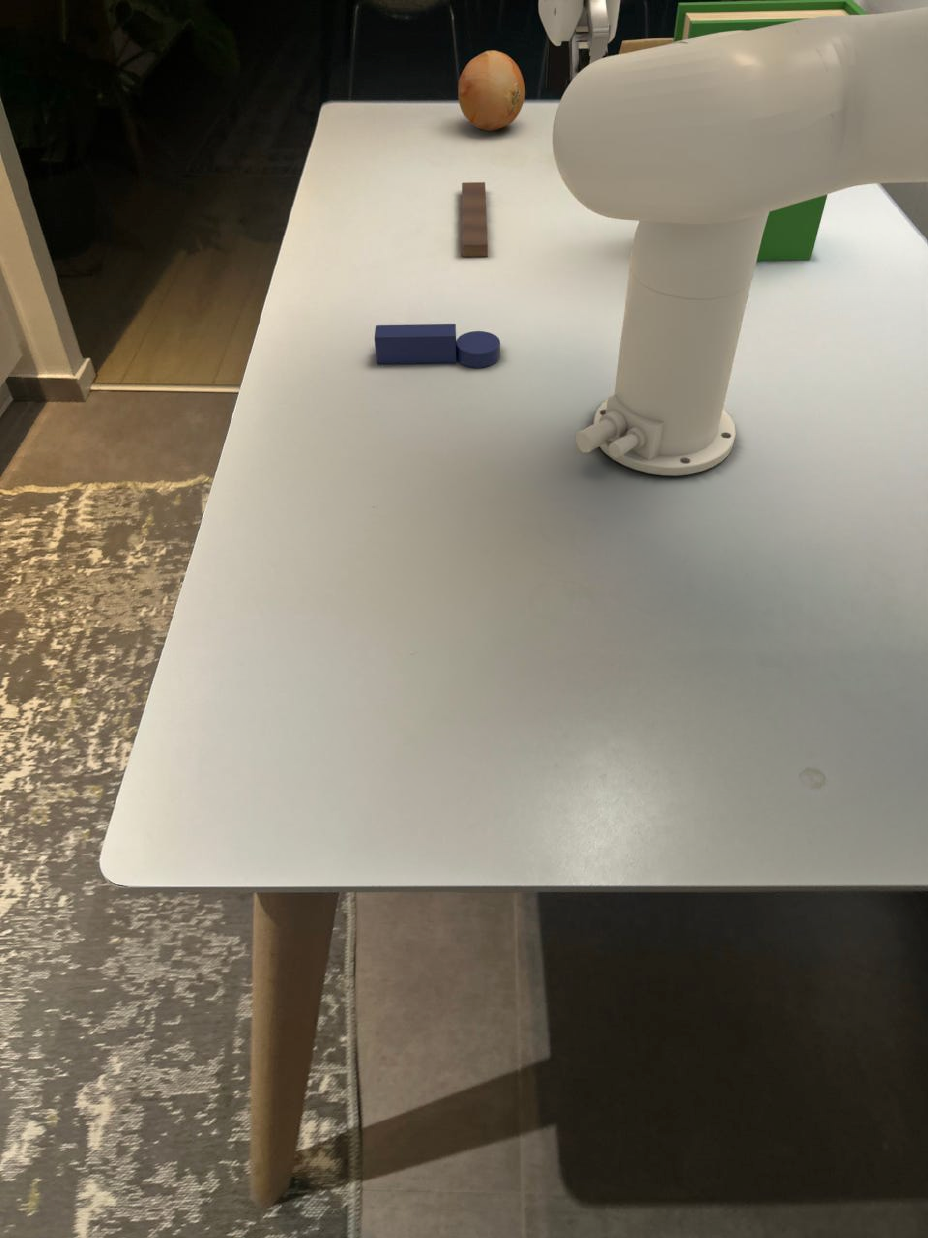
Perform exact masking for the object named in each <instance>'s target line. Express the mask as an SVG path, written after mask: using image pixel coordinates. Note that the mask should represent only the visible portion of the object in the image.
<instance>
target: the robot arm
mask: <svg viewBox="0 0 928 1238" xmlns="http://www.w3.org/2000/svg"><path fill="white" fill-rule="evenodd" d="M620 4H621V0H538V3H537V5H538V14H539V18H540V21H541V23H542V25H543V28H544V31H545V32H546V35H547V36H548V37H547V38H548V39H547V41H548V43H547V58H546V74H545V75H546V77H545V87H546V90H547V91H548V92H552V93H553V92H563V95H562V96H561V98H560V101H559V103H558V105H557V109H556V112H555V116H554V121H553V126H552V151H553V156H554V160H555V165H556V168H557V170H558V173H559V175H560V177H561V180H562V181H563V183H564V185H565V186H566V188H567V189H568V191H569V192H570V193H571V195H572V196H573V197H574V198H575V199H576V200H577V201H578V203H580V204H581V205H582V206H584V207H585V208H586V209H587V210H589V211H590V212H593V213H595V214H597V215H600V216H603V217H606V218H610V219H615V220H622V221H623V220H624V221H637V222H638V224H637V227H636V230H635V234H634V237H633V241H632V245H631V246H632V247H631V254H630V261H629V267H628V275H627V284H626V293H625V301H624V309H623V316H622V317H623V318H622V326H621V334H620V342H619V352H618V361H617V366H616V367H617V368H616V376H615V384H614V393H613V395H612V396H611V395H610V396H609V397H608V398H607V399H605V400H604V401H603V402H602V403H600V405H599V407H598V408H597V409H596V412H595V414H594V417H593V424H591V425H589V426H587V427H585V428H584V429H583V428H582V430H580V431H578V432H577V433H576V434H575V438H574V441H575V443H576V446H577V448H578V450H580V451H581V452H582V453H583V454H584V453H585V454H589V453H590V452H592V451H594V450H595V449H597V448H600V449H601V450H602V452H603V453H604V454H606V455H607V456H608V457H609V458H611V460H613V461H616V462H617V463H619V464H621V465H623V466H624V467H627V468H629V469H632V470H634V471H639V472H642V473H645V474H650V475H657V476H671V477H672V476H673V477H674V476H676V477H677V476H685V475H692V474H697V473H702V472H704V471H706V470H709V469H712V468H714V467H715V466H717V465H718V464H720V463H722V462H723V461H724V460H725V459H726V458H727V457H728V456H729V455H730V453H731V451H732V450H733V448H734V443H735V440H736V425H735V423H734V420H733V418H732V417H731V415H730V414H729V412H728V411H727V410H726V409H725V408H724V405H725V401H726V396H727V393H728V387H729V384H730V379H731V374H732V370H733V365H734V361H735V356H736V352H737V348H738V343H739V339H740V335H741V330H742V326H743V321H744V316H745V311H746V308H747V304H748V298H749V294H750V290H751V285H752V280H753V278H754V273H755V269H756V264H757V261H756V260H757V256H758V252H759V248H760V244H761V239H762V235H763V232H764V228H765V225H766V221H767V218H768V215H769V212H770V211H773V210H777V209H780V208H783V207H787V206H790V205H793V204H797V203H800V202H804V201H807V200H810V199H814V198H817V197H820V196H824V195H827V194H828V195H830V194H833V193H836V192H839V191H843V190H845V189H848V188H853V187H857V186H863V185H873V184H874V185H876V184H892V183H893V184H894V183H895V184H897V183H927V182H928V6H924V7H917V8H913V9H911V8H910V9H905V10H899V11H890V12H882V13H870V14H869V13H868V14H869V15H836V16H823V17H816V18H810V19H804V20H799V21H793V22H788V23H784V24H779V25H774V26H769V27H765V28H760V29H755V30H750V31H741V30H738V31H728V32H720V33H715V34H710V35H705V36H700V37H695V38H690V39H686V40H681V41H676V42H672V43H670V44H667V45H663V46H658V47H653V48H648V49H644V50H639V51H634V52H629V53H624V54H619V53H618V54H614V55H609V52H608V51H609V50H608V44H609V43H611V42H612V41H613V39H615V37H616V32H617V28H618V20H619V14H620ZM828 195H827V196H828Z"/></svg>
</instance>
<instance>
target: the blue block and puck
mask: <svg viewBox="0 0 928 1238" xmlns="http://www.w3.org/2000/svg"><path fill="white" fill-rule="evenodd" d="M374 346H375V347H374V348H375V355H376V357H375V359H376V364H377V365H383V364H384V365H387V364H388V365H389V364H392V365H393V364H394V365H395V364H397V365H398V364H448V363H449V364H450V363H451V364H452V363H453V364H454V363H457V361H458V363H460V364H461V365H463V366H465V367H468V368H475V369H478V368H487V367H491V366H493V365H494V364H496V363H497V362H498V361H499V360H500V357H501V341H500V338H499V337H498V336H497V335H496V334H494V333H492V332H490V331H485V330H474V331H468V332H465V333H463V334H461V335H460V336H458V337H457V324H456V323H425V324H424V323H423V324H422V323H421V324H419V323H418V324H413V323H412V324H376V325H375V331H374Z"/></svg>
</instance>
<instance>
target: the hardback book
mask: <svg viewBox="0 0 928 1238" xmlns="http://www.w3.org/2000/svg"><path fill="white" fill-rule="evenodd" d="M676 10H677V11H676V17H675V26H674V33H673V38H674V40H673V42H676V41H681V40H686V39H690V38H695V37H700V36H705V35H710V34H715V33H720V32H728V31H738V30H741V31H750V30H755V29H760V28H765V27H769V26H774V25H779V24H784V23H788V22H793V21H799V20H804V19H810V18H816V17H823V16H836V15H869V12H867V11H866V10H864V9H863V8H862V7H861V6H860V5H859V4H858V3H856V2H855V0H744V1H742V0H741V1H739V0H738V1H736V0H735V1H698V2H678V4H677V9H676ZM828 196H829V194H827V195H824V196H820V197H817V198H814V199H810V200H807V201H804V202H800V203H797V204H793V205H790V206H787V207H783V208H780V209H777V210H773V211H770V212H769V215H768V218H767V221H766V225H765V228H764V232H763V235H762V239H761V244H760V248H759V252H758V256H757V260H756V262H778V261H779V262H780V261H781V262H782V261H810V260H811V258H812V256H813V251H814V247H815V243H816V239H817V236H818V232H819V229H820V225H821V222H822V217H823V214H824V210H825V207H826V202H827V199H828Z"/></svg>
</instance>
